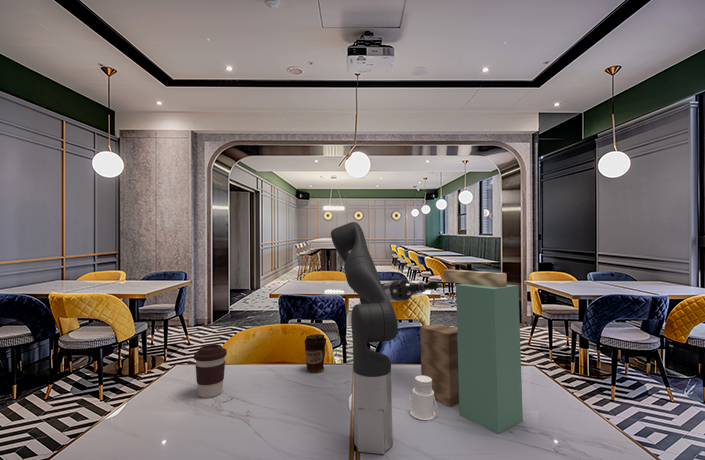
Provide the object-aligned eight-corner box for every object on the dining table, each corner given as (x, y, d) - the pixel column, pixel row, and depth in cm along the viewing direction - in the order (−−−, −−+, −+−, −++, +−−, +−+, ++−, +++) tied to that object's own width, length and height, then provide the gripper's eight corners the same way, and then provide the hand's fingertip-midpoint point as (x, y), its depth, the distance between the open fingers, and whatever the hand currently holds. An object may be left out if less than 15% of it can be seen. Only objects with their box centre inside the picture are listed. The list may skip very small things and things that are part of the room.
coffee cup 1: (204, 403, 106) (204, 353, 107) (187, 395, 112) (187, 348, 113) (232, 391, 114) (232, 345, 115) (215, 384, 120) (216, 341, 121)
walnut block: (467, 399, 106) (465, 330, 107) (450, 406, 101) (448, 334, 102) (438, 387, 115) (437, 323, 116) (421, 393, 111) (420, 326, 112)
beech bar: (506, 286, 93) (506, 273, 93) (499, 287, 91) (498, 274, 91) (450, 280, 109) (450, 269, 109) (443, 281, 107) (442, 270, 107)
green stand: (522, 420, 93) (518, 285, 94) (498, 433, 87) (494, 289, 88) (483, 403, 103) (480, 281, 104) (459, 414, 97) (455, 284, 98)
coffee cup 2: (325, 374, 128) (324, 339, 128) (302, 374, 128) (302, 339, 128) (327, 366, 137) (327, 332, 137) (306, 366, 137) (306, 333, 137)
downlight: (405, 416, 96) (405, 380, 96) (413, 405, 102) (413, 371, 102) (433, 424, 92) (434, 386, 92) (440, 412, 99) (440, 377, 99)
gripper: (413, 298, 130) (445, 295, 117) (383, 303, 122) (414, 300, 109) (409, 278, 131) (441, 273, 118) (380, 282, 124) (410, 276, 110)
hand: (428, 286), depth 114 cm, fingers open, 8 cm apart
